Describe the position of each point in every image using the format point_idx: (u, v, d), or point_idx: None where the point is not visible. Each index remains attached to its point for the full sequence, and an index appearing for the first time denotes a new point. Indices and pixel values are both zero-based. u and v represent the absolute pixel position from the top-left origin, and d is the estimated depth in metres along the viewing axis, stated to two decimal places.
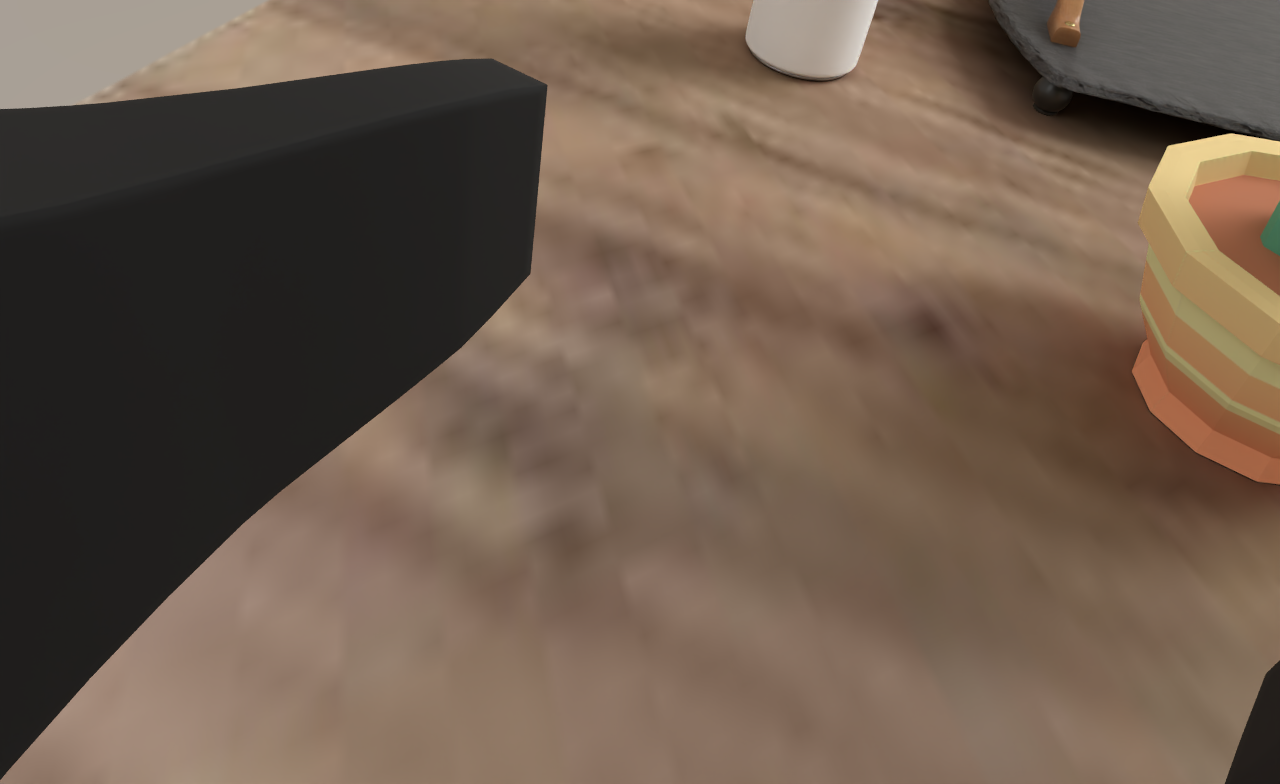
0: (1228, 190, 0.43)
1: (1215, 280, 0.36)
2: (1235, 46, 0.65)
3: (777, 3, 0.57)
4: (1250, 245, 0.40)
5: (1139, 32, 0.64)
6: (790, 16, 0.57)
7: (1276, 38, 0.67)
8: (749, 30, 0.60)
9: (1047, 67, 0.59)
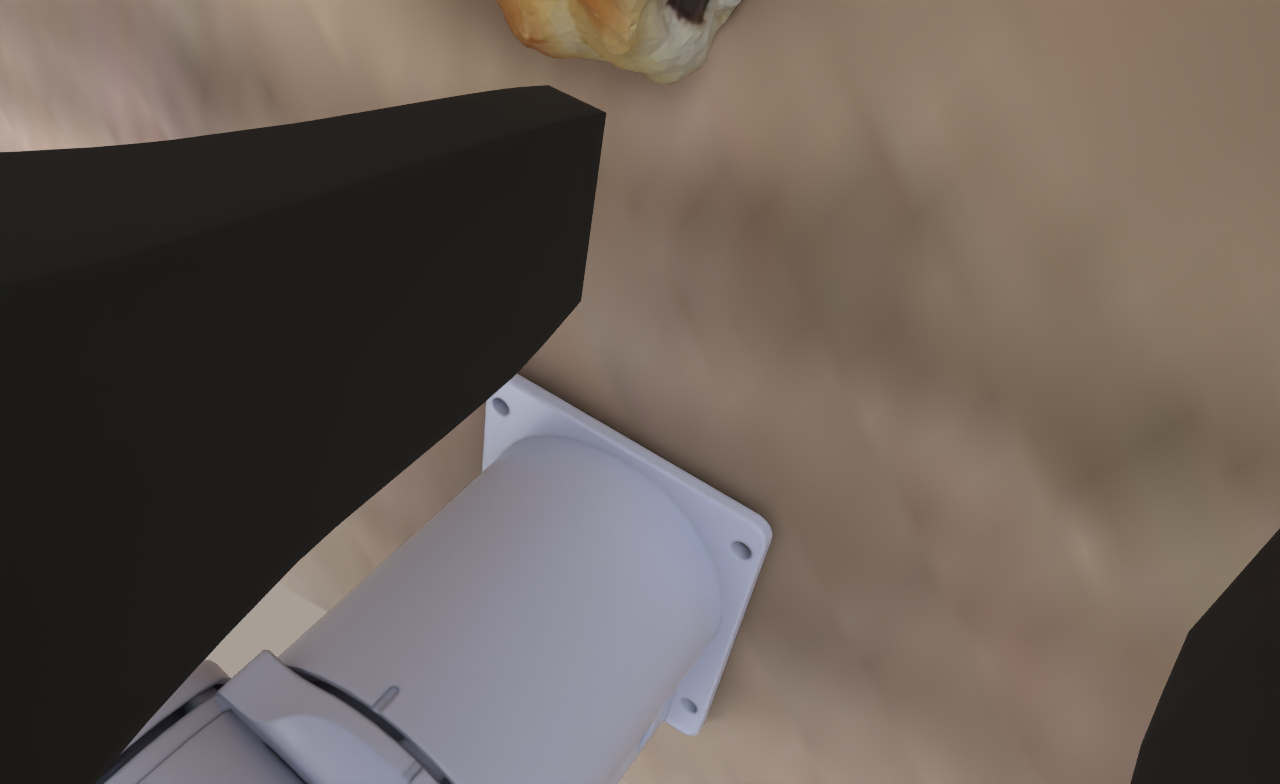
0: None
1: None
2: None
3: None
4: None
5: None
6: None
7: None
8: None
9: None
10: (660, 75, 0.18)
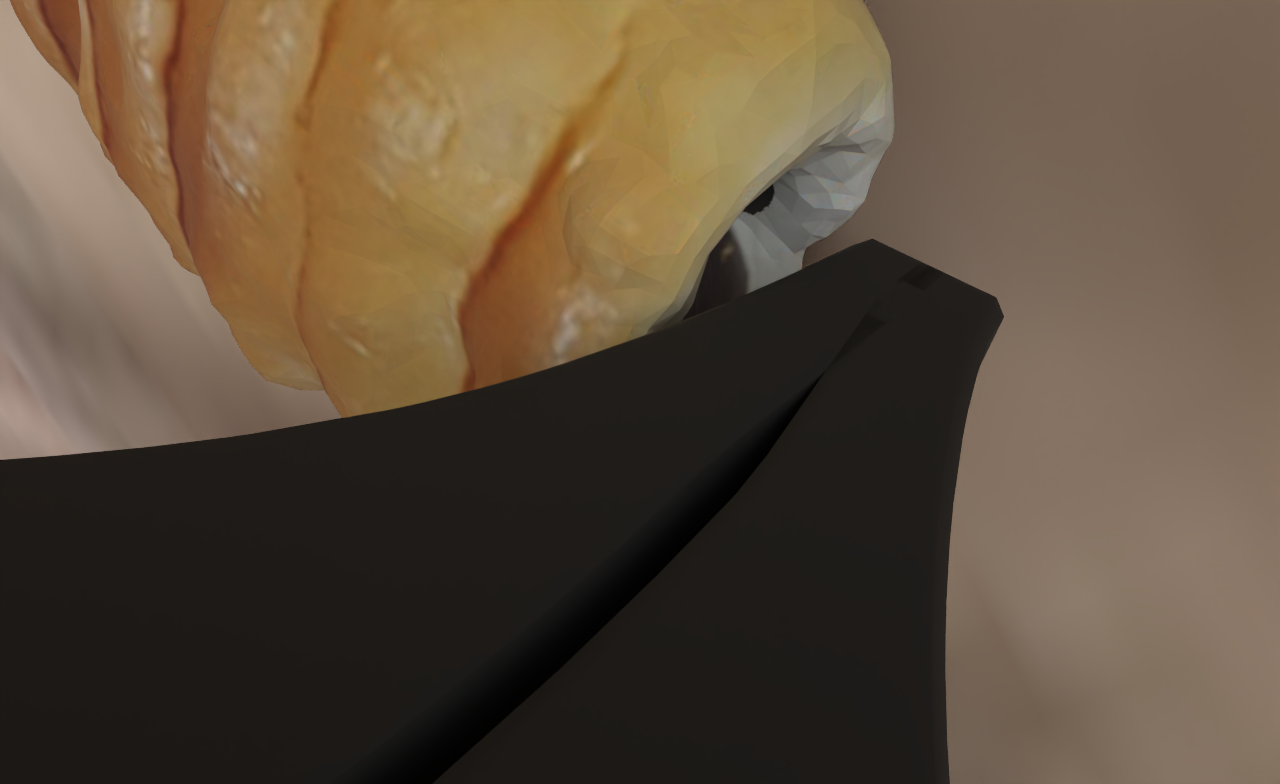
0: None
1: None
2: None
3: None
4: None
5: None
6: None
7: None
8: None
9: None
10: None
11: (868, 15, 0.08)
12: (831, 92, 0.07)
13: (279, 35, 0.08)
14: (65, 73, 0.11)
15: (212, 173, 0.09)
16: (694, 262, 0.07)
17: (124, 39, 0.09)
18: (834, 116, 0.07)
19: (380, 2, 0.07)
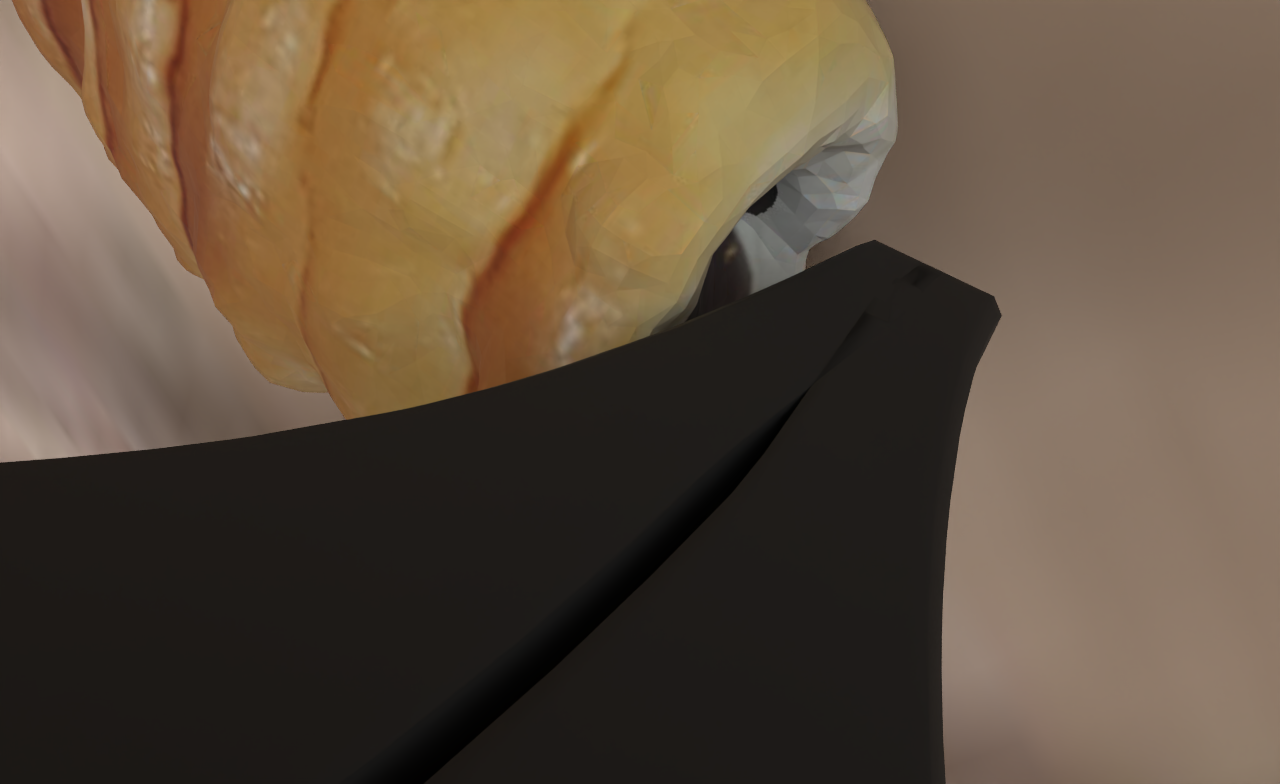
0: None
1: None
2: None
3: None
4: None
5: None
6: None
7: None
8: None
9: None
10: None
11: (871, 16, 0.08)
12: (834, 92, 0.07)
13: (282, 37, 0.08)
14: (69, 77, 0.11)
15: (216, 176, 0.09)
16: (697, 263, 0.07)
17: (127, 42, 0.09)
18: (837, 117, 0.07)
19: (381, 4, 0.07)
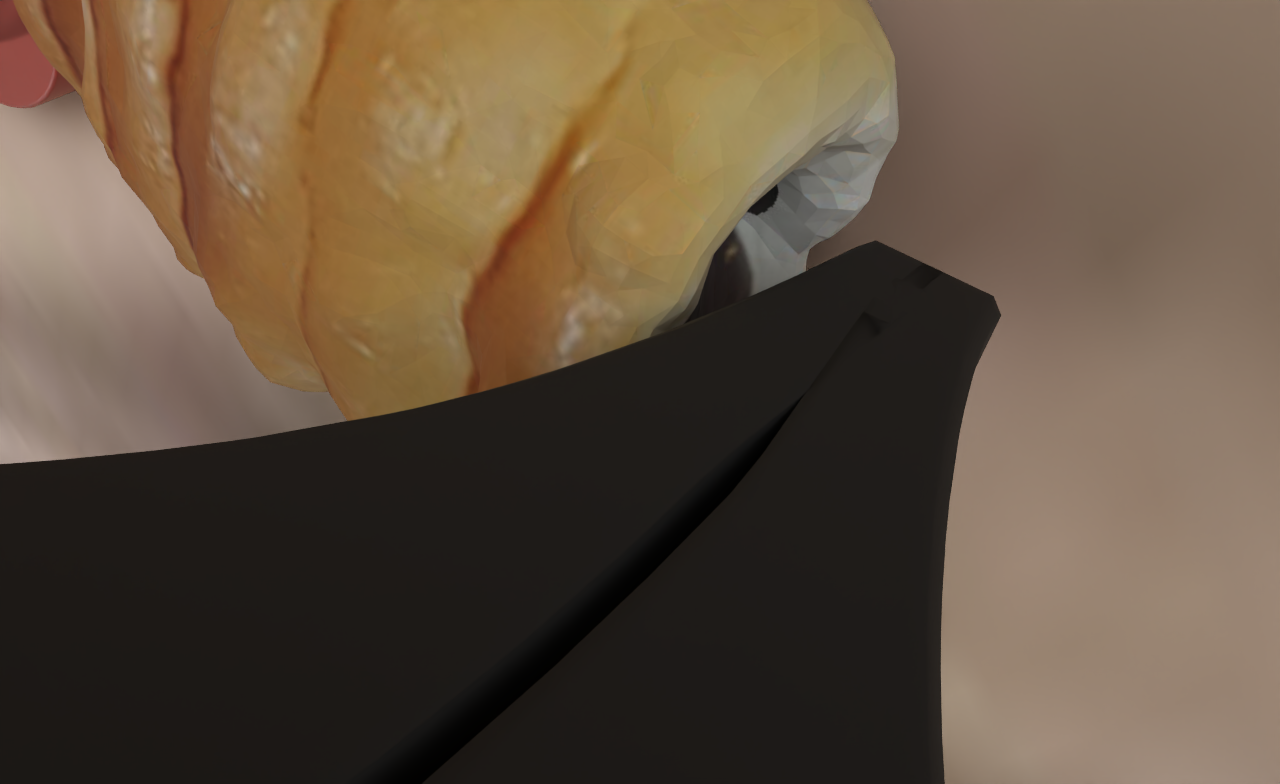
0: None
1: None
2: None
3: None
4: None
5: None
6: None
7: None
8: None
9: None
10: None
11: (873, 14, 0.08)
12: (834, 92, 0.07)
13: (283, 35, 0.08)
14: (69, 75, 0.11)
15: (216, 174, 0.09)
16: (698, 262, 0.07)
17: (128, 41, 0.09)
18: (837, 117, 0.07)
19: (384, 3, 0.07)
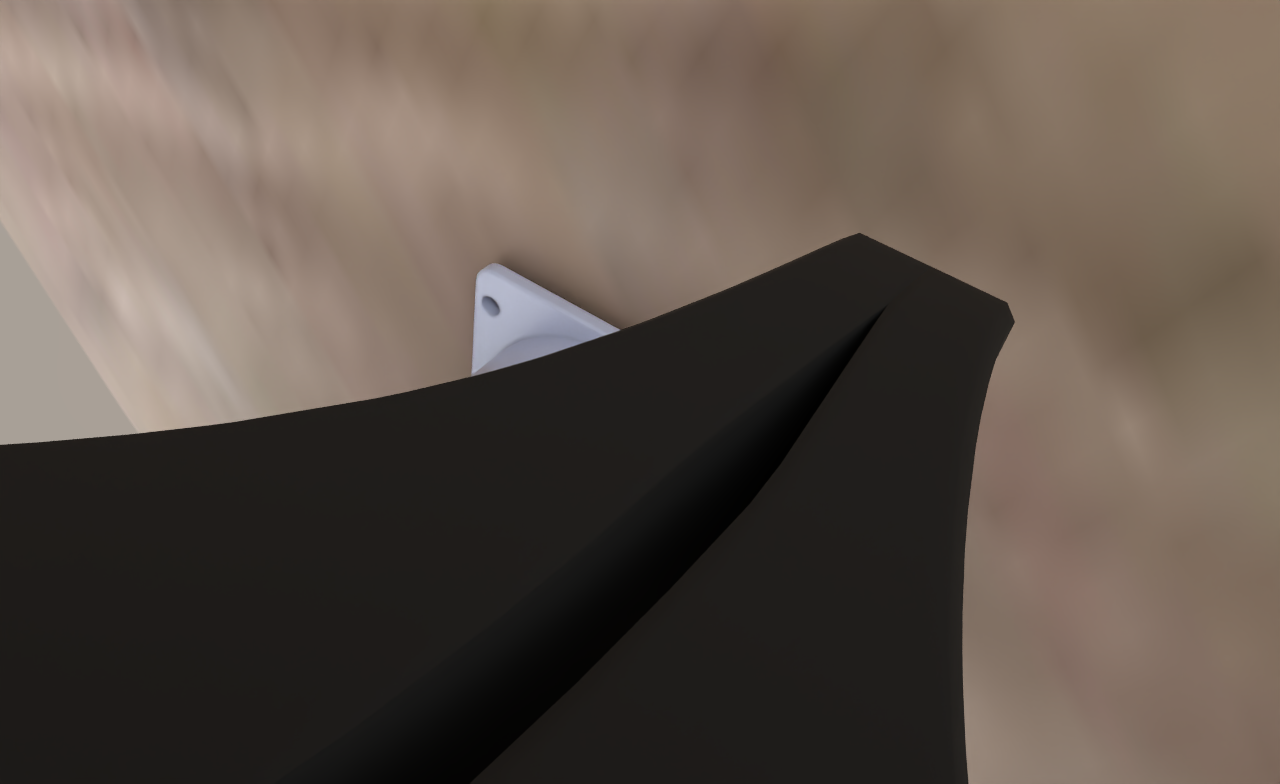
0: None
1: None
2: None
3: None
4: None
5: None
6: None
7: None
8: None
9: None
10: None
11: None
12: None
13: None
14: None
15: None
16: None
17: None
18: None
19: None
